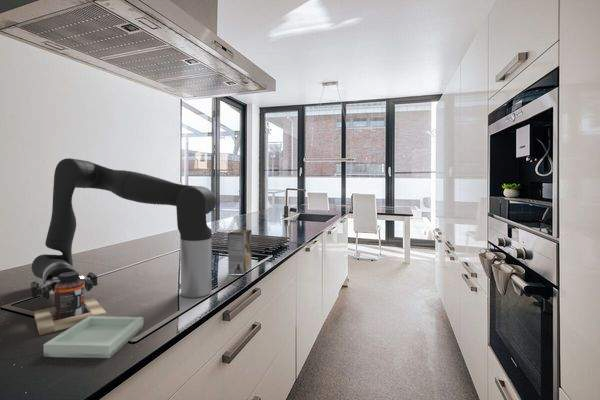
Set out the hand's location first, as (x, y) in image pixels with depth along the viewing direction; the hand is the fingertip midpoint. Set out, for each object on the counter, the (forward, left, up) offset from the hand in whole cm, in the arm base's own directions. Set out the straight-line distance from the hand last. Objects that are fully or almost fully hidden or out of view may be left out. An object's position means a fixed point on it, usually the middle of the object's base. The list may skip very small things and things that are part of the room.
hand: (69, 291), depth 79 cm
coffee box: (-41, +35, -7) cm, 55 cm away
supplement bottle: (+1, +1, -7) cm, 7 cm away
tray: (+12, +15, -7) cm, 20 cm away
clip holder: (+1, +1, -7) cm, 7 cm away
